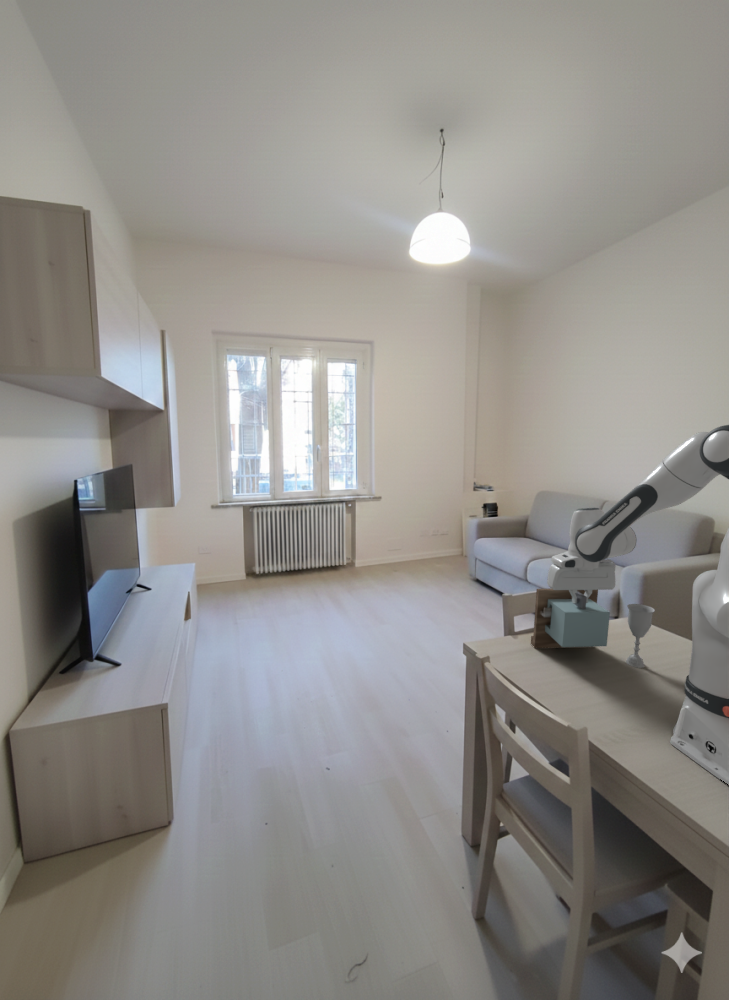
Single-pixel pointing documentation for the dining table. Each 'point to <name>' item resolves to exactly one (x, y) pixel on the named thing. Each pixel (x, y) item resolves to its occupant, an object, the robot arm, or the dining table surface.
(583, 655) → the dining table surface
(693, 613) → the robot arm
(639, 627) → the chalice
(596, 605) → the cabinet
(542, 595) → the wall board
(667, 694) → the dining table surface
